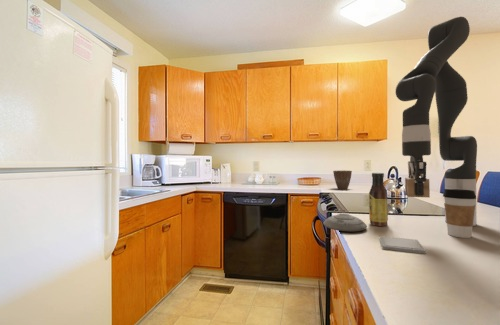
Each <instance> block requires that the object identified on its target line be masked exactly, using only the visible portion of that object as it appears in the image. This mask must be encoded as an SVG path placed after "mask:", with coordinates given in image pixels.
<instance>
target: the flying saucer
mask: <svg viewBox="0 0 500 325" xmlns="http://www.w3.org/2000/svg"><path fill="white" fill-rule="evenodd" d="M322 225H323V226H324V227H326V228H328V229H330V230H334V231H337V232H338V231H340V232H361V231H363V230H366V229H367V228H368V226H367V224H366V223H365V221H363V220H362V219H361V218H360V217H357V216H353V215H351V214H348V213H339V214H338V213H337V214H335V215H331V216H329V217H327V218H326V219H325V220H324V221H323V223H322Z"/></svg>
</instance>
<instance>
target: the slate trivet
mask: <svg viewBox="0 0 500 325" xmlns="http://www.w3.org/2000/svg"><path fill="white" fill-rule="evenodd" d="M379 240H380V246H381V249H382V250H388V251H389V250H390V251H395V252H396V251H397V252H406V253H413V254H415V253H416V254H425V255H426V250H425V248H424V247H423V245H422V244H421V242H420V241H419V240H418V239H414V238H404V237H403V238H402V237H394V236H392V237H391V236H381V235H380V236H379Z"/></svg>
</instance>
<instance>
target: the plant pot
mask: <svg viewBox="0 0 500 325" xmlns="http://www.w3.org/2000/svg"><path fill="white" fill-rule="evenodd" d="M352 172H353V171H352V170H333V171H332V173H333V178H334V182H335V185H336V187H337V189H338V190H340V191H346V190H349V186H350V182H351V179H352Z"/></svg>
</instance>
